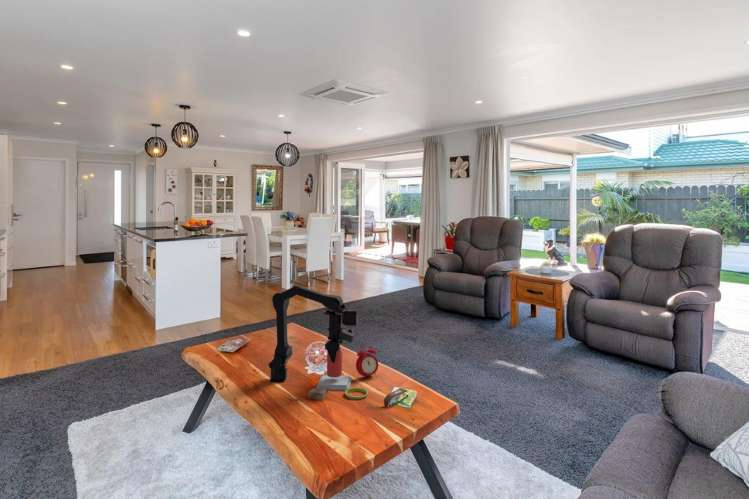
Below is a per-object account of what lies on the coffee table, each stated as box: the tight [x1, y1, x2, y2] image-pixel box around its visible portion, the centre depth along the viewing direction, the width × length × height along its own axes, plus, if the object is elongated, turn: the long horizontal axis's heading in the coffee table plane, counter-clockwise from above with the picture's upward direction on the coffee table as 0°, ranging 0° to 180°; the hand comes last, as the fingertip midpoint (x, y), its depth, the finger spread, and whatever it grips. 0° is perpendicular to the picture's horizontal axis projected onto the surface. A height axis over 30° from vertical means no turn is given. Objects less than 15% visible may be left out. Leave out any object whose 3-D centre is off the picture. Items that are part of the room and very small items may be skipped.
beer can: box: [326, 347, 343, 378], centre depth 182 cm, size 7×7×12 cm
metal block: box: [308, 388, 327, 401], centre depth 168 cm, size 6×4×3 cm, turn 77°
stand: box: [315, 374, 353, 392], centre depth 182 cm, size 14×14×2 cm
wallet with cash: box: [383, 387, 408, 408], centre depth 170 cm, size 15×3×8 cm, turn 138°
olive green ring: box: [344, 387, 369, 400], centre depth 171 cm, size 9×9×9 cm
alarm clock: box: [355, 343, 379, 380], centre depth 192 cm, size 10×6×15 cm, turn 117°
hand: (334, 360), depth 182 cm, fingers closed on beer can, 6 cm apart
